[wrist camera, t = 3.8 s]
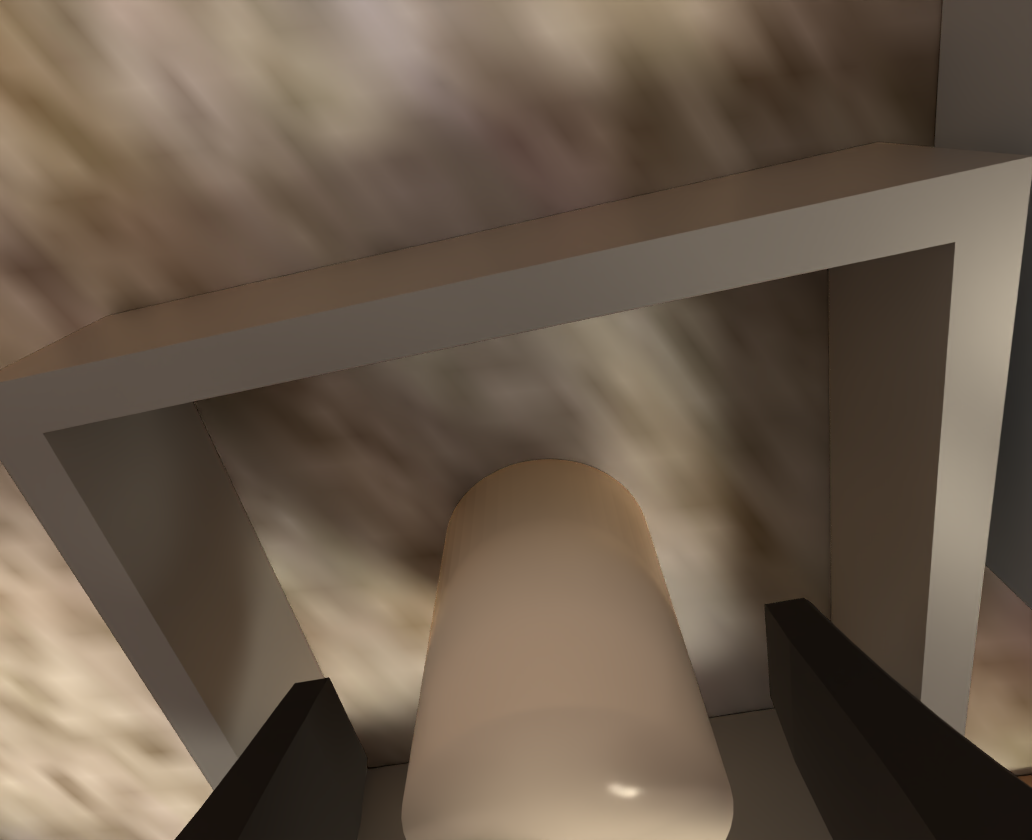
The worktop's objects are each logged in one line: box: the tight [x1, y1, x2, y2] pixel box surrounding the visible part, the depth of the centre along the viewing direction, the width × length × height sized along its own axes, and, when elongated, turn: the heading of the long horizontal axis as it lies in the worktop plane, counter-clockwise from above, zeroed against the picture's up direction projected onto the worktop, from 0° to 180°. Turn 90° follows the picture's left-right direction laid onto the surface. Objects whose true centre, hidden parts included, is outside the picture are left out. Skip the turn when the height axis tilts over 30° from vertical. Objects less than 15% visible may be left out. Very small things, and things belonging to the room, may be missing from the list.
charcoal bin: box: [0, 142, 1032, 840], centre depth 12 cm, size 14×14×4 cm
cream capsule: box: [401, 459, 733, 840], centre depth 11 cm, size 4×4×6 cm
